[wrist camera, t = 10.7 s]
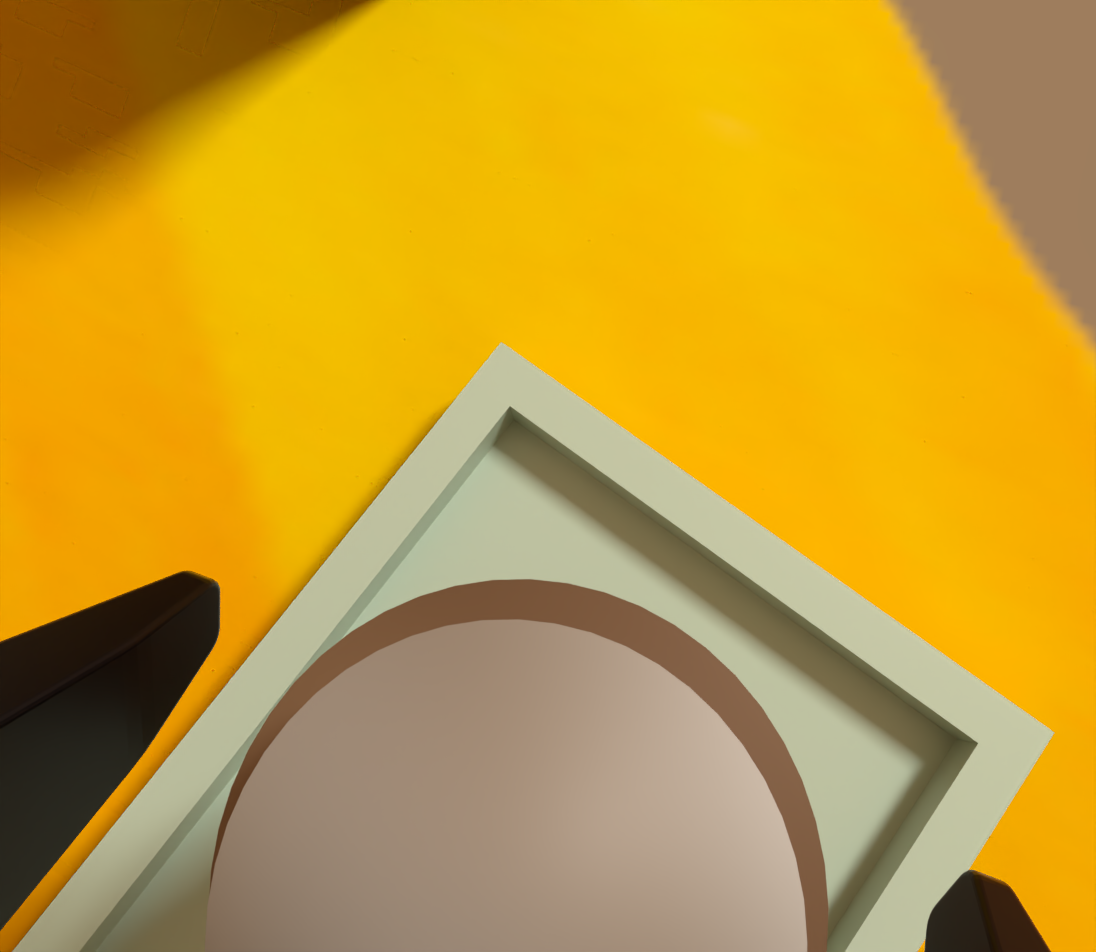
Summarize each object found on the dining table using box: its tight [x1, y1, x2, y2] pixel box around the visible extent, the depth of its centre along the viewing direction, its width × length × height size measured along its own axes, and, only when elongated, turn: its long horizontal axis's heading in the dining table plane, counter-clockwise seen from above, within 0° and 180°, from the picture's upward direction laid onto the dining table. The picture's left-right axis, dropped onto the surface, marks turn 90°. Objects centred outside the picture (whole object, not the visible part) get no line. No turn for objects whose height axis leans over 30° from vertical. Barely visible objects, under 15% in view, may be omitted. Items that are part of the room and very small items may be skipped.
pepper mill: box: [205, 579, 829, 952], centre depth 12 cm, size 5×5×12 cm
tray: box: [12, 342, 1054, 952], centre depth 17 cm, size 17×13×2 cm
